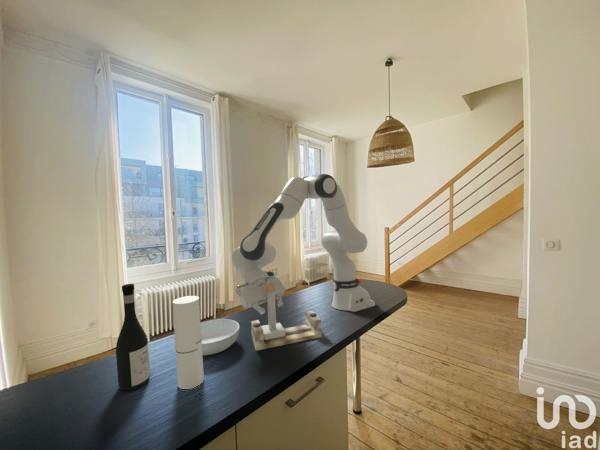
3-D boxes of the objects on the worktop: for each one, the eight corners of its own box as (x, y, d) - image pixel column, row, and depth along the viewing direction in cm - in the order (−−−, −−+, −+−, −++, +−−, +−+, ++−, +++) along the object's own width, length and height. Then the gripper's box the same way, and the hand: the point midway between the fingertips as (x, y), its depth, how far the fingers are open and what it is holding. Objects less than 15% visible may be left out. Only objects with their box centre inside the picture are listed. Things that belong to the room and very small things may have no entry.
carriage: (280, 327, 106) (277, 280, 105) (285, 335, 98) (283, 285, 97) (260, 331, 103) (258, 282, 102) (264, 340, 95) (262, 287, 94)
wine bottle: (156, 375, 81) (149, 280, 80) (137, 392, 73) (130, 288, 72) (132, 374, 82) (125, 281, 81) (111, 392, 74) (103, 288, 73)
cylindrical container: (208, 376, 79) (204, 296, 78) (192, 392, 73) (186, 304, 71) (190, 372, 82) (185, 295, 81) (172, 387, 75) (166, 302, 74)
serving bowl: (223, 330, 112) (222, 314, 111) (251, 346, 97) (250, 328, 97) (173, 349, 97) (171, 331, 97) (196, 371, 82) (194, 350, 82)
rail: (312, 326, 111) (311, 309, 111) (321, 336, 102) (321, 318, 102) (251, 338, 103) (250, 320, 103) (255, 350, 93) (254, 330, 93)
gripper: (236, 281, 96) (254, 313, 90) (277, 271, 112) (294, 297, 105) (230, 291, 100) (247, 322, 93) (270, 279, 115) (287, 306, 109)
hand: (272, 309), depth 100 cm, fingers open, 8 cm apart
